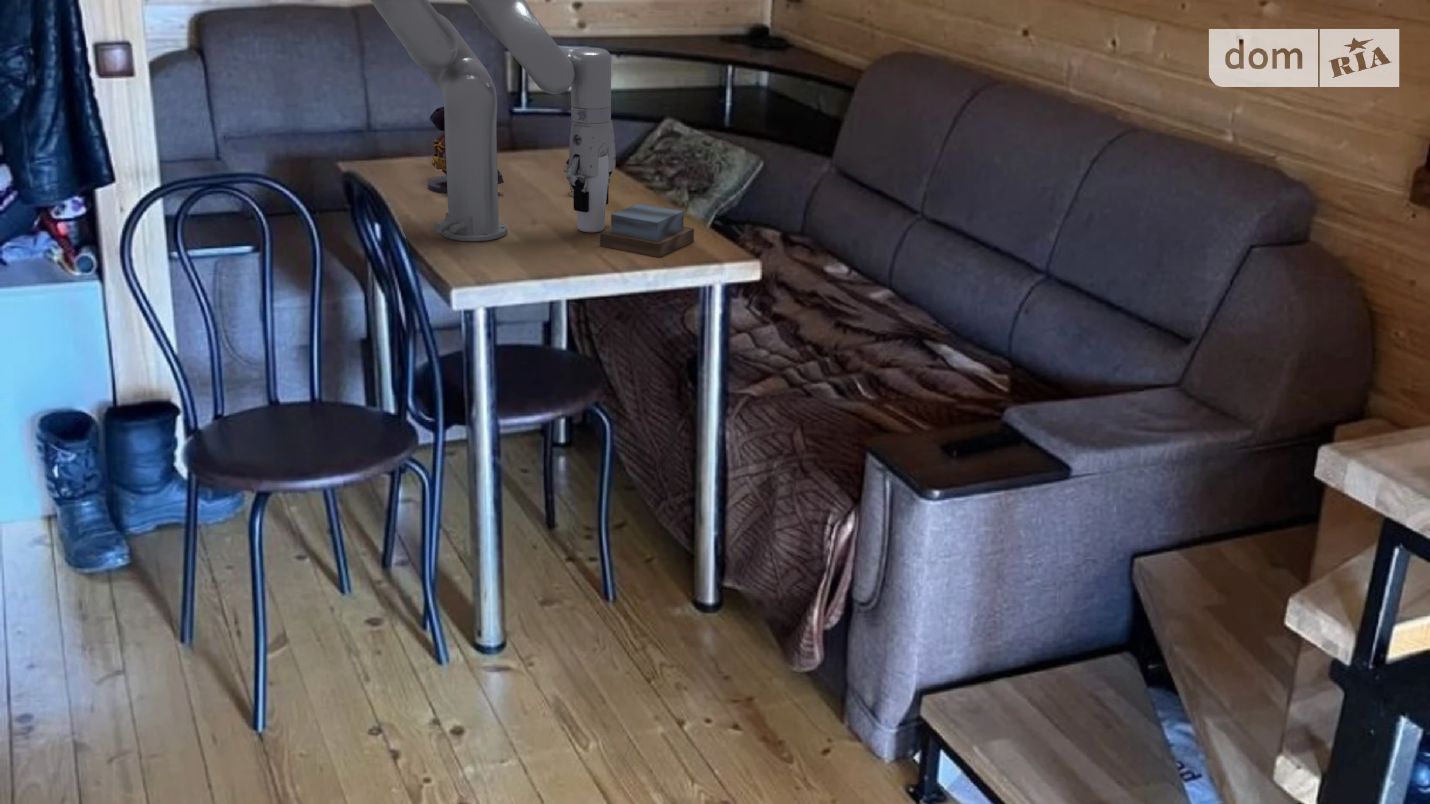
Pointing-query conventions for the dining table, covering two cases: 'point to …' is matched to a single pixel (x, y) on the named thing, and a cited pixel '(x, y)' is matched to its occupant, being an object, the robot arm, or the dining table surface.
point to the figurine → (442, 154)
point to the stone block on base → (647, 230)
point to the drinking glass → (595, 199)
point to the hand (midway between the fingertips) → (591, 206)
